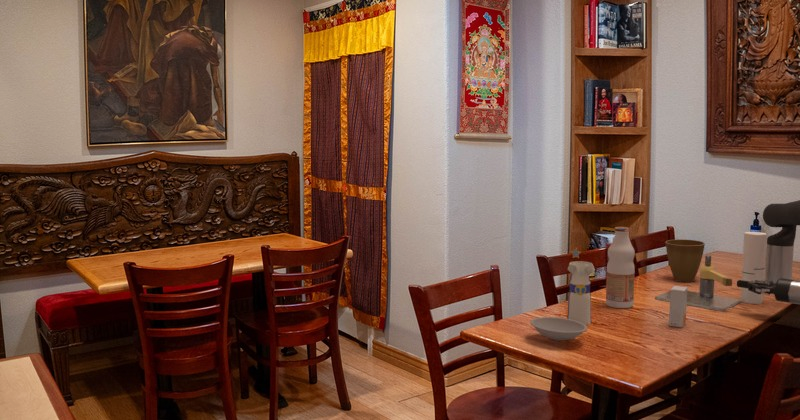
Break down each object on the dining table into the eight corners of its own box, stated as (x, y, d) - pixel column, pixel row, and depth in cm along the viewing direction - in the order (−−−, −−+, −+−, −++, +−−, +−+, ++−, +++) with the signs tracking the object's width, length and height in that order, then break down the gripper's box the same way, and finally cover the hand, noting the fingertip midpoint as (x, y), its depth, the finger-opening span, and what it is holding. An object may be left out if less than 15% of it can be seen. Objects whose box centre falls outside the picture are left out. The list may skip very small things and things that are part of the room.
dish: (519, 339, 206) (519, 323, 206) (547, 329, 216) (547, 314, 215) (569, 353, 193) (570, 335, 193) (597, 342, 203) (597, 325, 202)
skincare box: (682, 327, 216) (684, 290, 215) (668, 326, 219) (670, 289, 217) (686, 323, 222) (687, 287, 220) (672, 321, 224) (673, 285, 222)
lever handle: (697, 276, 254) (698, 264, 254) (710, 276, 254) (711, 264, 254) (721, 288, 235) (722, 276, 234) (735, 288, 235) (736, 276, 234)
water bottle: (594, 325, 219) (596, 249, 216) (566, 324, 221) (568, 248, 218) (592, 318, 227) (594, 244, 224) (565, 317, 229) (567, 243, 226)
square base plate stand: (675, 291, 264) (676, 250, 262) (740, 302, 247) (743, 258, 245) (654, 299, 252) (656, 256, 250) (722, 311, 235) (724, 265, 233)
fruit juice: (610, 309, 239) (613, 229, 236) (602, 302, 249) (604, 225, 245) (637, 308, 240) (640, 229, 236) (627, 301, 249) (630, 225, 246)
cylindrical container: (765, 304, 244) (769, 235, 241) (743, 303, 246) (747, 234, 243) (759, 299, 251) (763, 232, 248) (738, 298, 253) (741, 231, 250)
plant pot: (674, 274, 293) (675, 237, 291) (709, 280, 282) (711, 242, 281) (657, 280, 283) (658, 242, 281) (693, 286, 272) (694, 246, 271)
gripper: (800, 277, 225) (745, 269, 238) (787, 283, 216) (730, 275, 229) (799, 299, 226) (744, 290, 239) (786, 306, 217) (729, 297, 230)
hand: (737, 283), depth 234 cm, fingers closed
